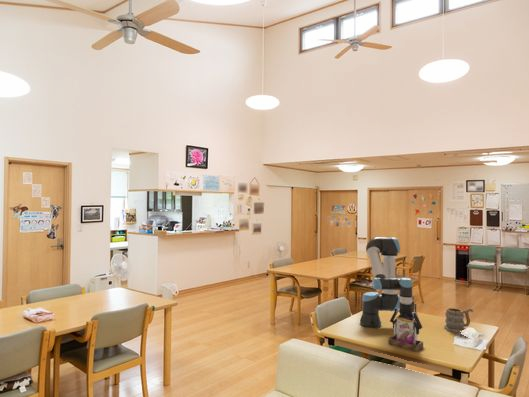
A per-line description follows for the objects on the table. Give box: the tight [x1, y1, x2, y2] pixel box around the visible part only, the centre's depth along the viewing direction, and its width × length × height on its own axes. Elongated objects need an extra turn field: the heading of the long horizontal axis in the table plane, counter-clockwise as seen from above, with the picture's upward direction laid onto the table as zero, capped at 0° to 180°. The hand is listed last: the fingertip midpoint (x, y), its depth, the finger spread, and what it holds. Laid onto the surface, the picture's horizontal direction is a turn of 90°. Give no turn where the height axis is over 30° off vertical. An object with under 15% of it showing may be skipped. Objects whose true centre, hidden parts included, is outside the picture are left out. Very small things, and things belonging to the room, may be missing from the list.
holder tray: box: [387, 334, 424, 352], centre depth 241 cm, size 18×10×4 cm, turn 45°
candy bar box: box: [395, 316, 416, 345], centre depth 241 cm, size 11×5×16 cm, turn 50°
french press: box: [410, 294, 417, 319], centre depth 301 cm, size 12×9×23 cm
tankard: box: [443, 307, 474, 333], centre depth 273 cm, size 20×13×15 cm, turn 91°
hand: (405, 336), depth 241 cm, fingers open, 13 cm apart
